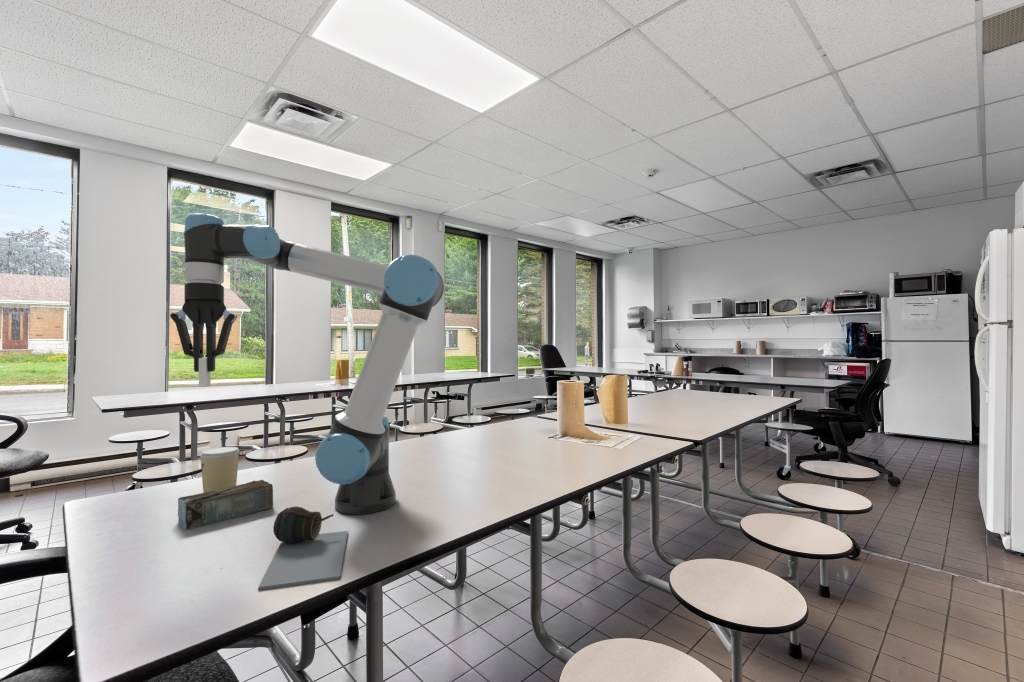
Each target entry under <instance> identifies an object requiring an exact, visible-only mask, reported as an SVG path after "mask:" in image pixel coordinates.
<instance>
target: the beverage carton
mask: <svg viewBox="0 0 1024 682" xmlns="http://www.w3.org/2000/svg"><path fill="white" fill-rule="evenodd" d="M273 488H274V486H273V484H272V483H269V482H268V481H266V480H264V479H260V480H259V479H258V480H252V481H249V482H246V483H242V484H238V485H237V484H236V486H232V487H228V488H224V489H219V490H214V491H209V492H205V493H203V492H201V493H196V494H192V495H185V496H181V497H178V498H177V505H178V506H177V507H178V508H177V517H178V518H177V519H178V523H179V524H180V525H181V526H182V527H183V528H184V530H191V529H193V528H194V529H195V528H199V527H203V526H208V525H210V524H215V523H219V522H223V521H227V520H230V519H231V520H232V519H235V518H238V517H242V516H245V515H249V514H252V513H256V512H257V513H258V512H261V511H264V510H270V509H272V508H273V507H274V489H273Z"/></svg>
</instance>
